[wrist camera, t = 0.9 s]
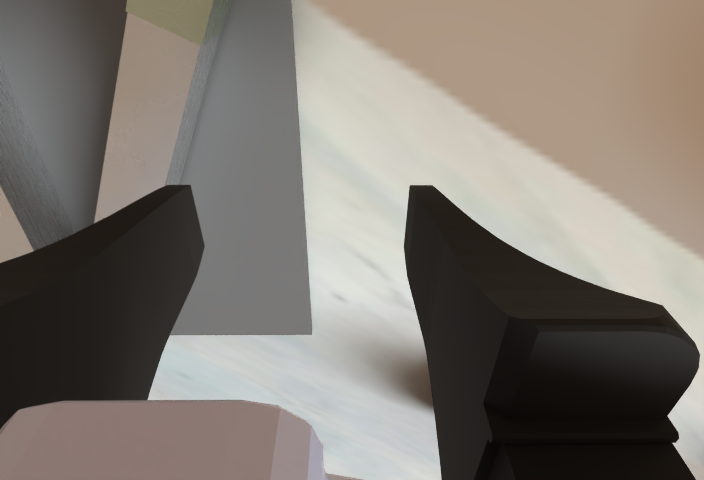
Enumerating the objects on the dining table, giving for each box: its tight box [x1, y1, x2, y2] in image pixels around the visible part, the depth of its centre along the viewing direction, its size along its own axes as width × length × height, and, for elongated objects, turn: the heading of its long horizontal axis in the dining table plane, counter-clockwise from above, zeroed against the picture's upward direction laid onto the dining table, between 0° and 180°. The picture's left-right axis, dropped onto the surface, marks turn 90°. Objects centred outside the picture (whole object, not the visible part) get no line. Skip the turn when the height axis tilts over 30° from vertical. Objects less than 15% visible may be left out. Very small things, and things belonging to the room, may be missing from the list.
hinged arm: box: [94, 0, 231, 223], centre depth 19 cm, size 21×4×3 cm, turn 154°
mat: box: [0, 0, 312, 335], centre depth 20 cm, size 20×27×1 cm
